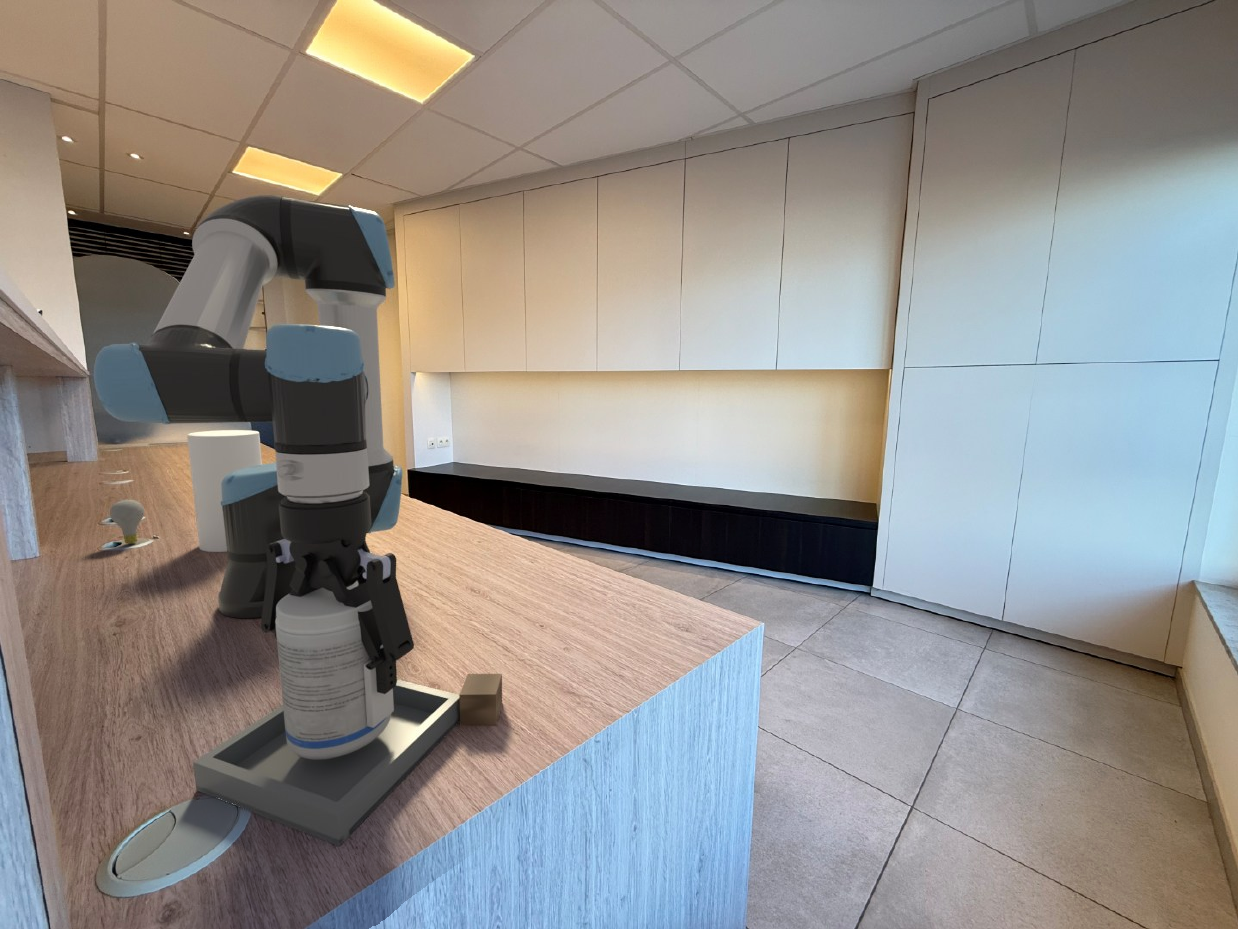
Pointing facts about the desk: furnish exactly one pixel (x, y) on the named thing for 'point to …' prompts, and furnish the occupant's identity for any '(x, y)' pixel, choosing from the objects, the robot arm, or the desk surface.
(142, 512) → the light bulb
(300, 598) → the supplement tub
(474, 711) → the walnut block
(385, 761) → the tray
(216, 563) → the desk surface
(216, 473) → the cylinder
